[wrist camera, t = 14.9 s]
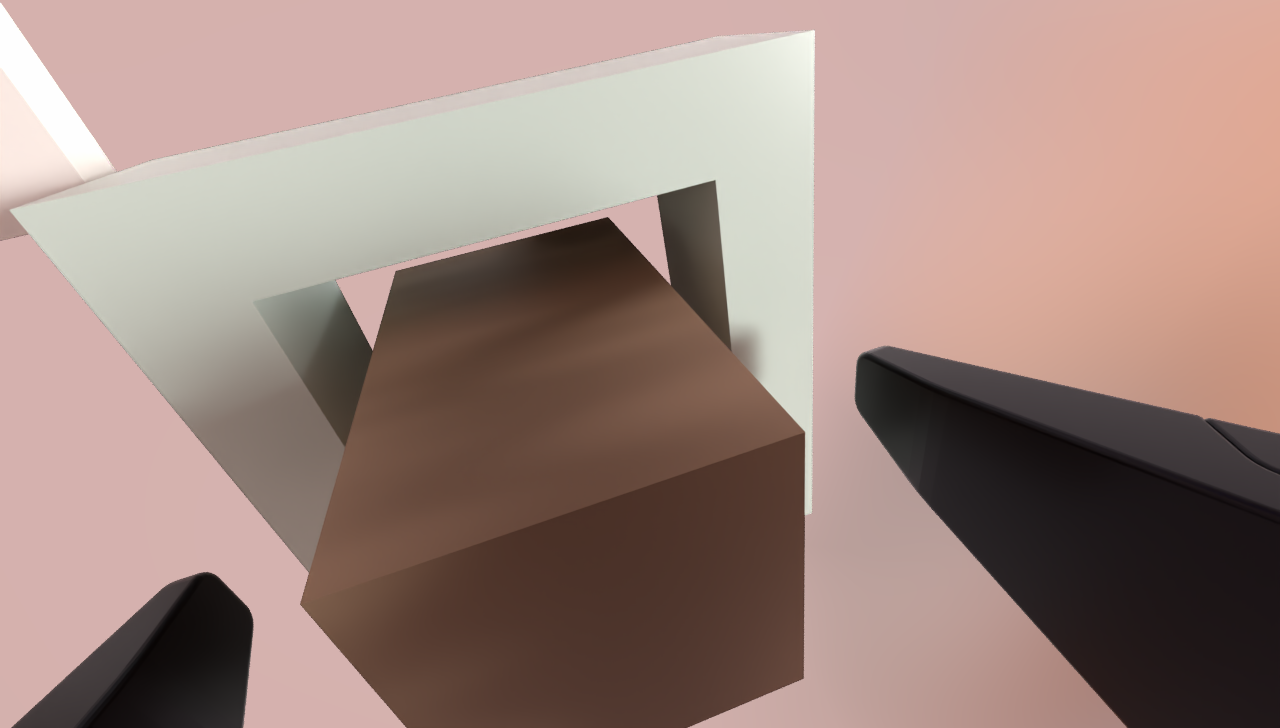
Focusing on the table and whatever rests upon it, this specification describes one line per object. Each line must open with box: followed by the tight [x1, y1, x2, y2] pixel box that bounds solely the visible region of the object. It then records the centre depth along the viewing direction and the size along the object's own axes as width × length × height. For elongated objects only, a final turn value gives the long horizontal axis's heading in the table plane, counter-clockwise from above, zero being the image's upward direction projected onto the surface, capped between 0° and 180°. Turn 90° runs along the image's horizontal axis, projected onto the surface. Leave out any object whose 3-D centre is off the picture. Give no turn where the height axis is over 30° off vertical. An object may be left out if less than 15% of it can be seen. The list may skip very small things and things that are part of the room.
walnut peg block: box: [300, 217, 805, 728], centre depth 8 cm, size 4×4×7 cm
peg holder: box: [9, 30, 815, 572], centre depth 10 cm, size 9×9×3 cm
